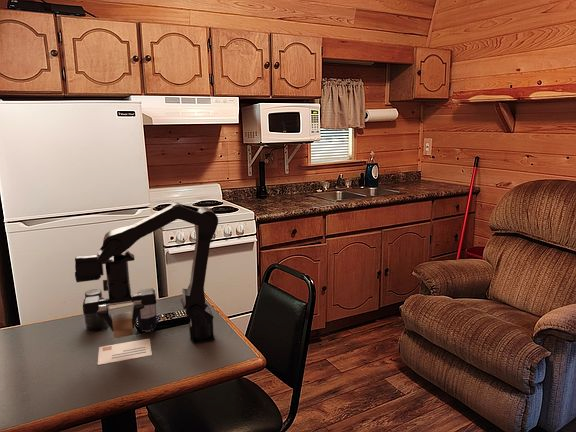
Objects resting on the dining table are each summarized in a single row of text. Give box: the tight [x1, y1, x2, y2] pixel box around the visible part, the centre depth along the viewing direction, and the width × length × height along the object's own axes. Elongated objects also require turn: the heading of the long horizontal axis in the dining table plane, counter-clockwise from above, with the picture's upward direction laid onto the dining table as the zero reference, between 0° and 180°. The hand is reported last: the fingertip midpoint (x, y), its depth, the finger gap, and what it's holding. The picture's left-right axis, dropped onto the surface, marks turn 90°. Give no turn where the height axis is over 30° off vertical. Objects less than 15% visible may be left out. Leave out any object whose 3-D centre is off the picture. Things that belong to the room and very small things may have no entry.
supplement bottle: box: [83, 288, 109, 332], centre depth 140 cm, size 7×7×12 cm
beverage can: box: [136, 291, 158, 333], centre depth 139 cm, size 6×6×12 cm
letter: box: [97, 338, 152, 366], centre depth 127 cm, size 14×10×1 cm
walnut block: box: [111, 311, 134, 339], centre depth 125 cm, size 5×5×5 cm
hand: (123, 329), depth 125 cm, fingers closed on walnut block, 5 cm apart
